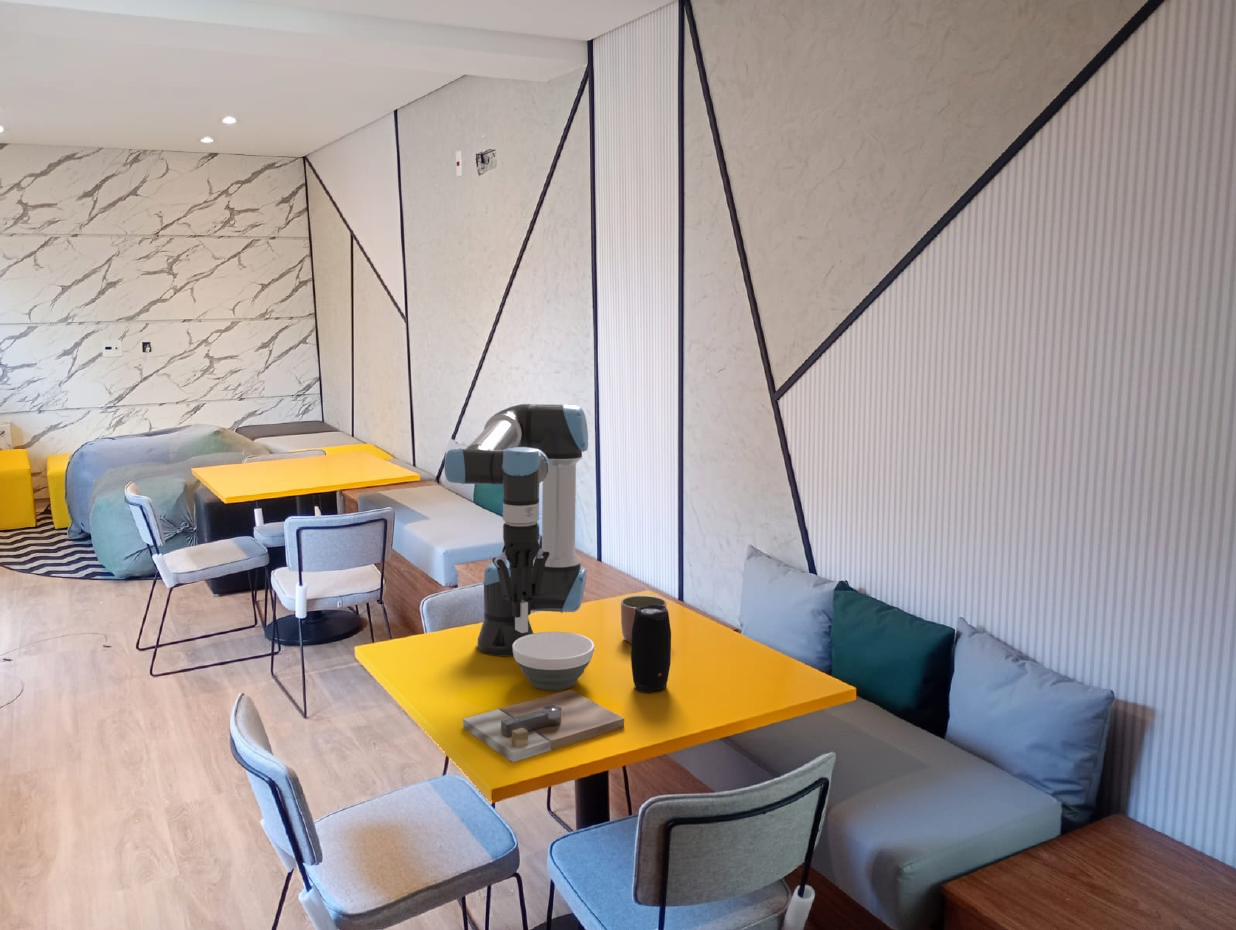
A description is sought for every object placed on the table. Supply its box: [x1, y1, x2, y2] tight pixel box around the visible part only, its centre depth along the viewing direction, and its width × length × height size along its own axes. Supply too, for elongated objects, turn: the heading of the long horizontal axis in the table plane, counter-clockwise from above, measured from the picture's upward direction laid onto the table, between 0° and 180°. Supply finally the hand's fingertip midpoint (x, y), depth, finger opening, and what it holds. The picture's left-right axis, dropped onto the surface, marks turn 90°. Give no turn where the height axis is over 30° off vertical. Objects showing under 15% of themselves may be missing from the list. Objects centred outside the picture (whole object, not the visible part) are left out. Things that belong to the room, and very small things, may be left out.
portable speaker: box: [630, 604, 672, 694], centre depth 229 cm, size 9×9×20 cm
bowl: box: [512, 631, 595, 692], centre depth 232 cm, size 20×20×10 cm
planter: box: [620, 595, 667, 644], centre depth 263 cm, size 12×12×11 cm
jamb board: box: [462, 688, 625, 763], centre depth 207 cm, size 20×28×5 cm
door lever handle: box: [501, 705, 561, 736], centre depth 202 cm, size 14×4×3 cm, turn 125°
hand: (521, 630), depth 205 cm, fingers closed
